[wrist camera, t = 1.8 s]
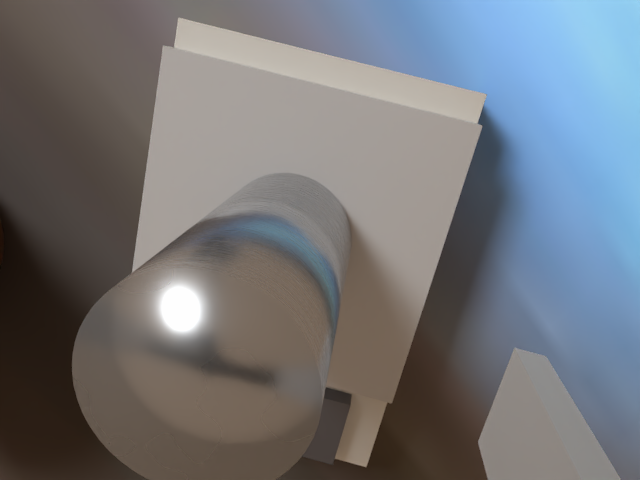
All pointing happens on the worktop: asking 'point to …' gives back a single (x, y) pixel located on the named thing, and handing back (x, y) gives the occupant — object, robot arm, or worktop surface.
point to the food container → (1, 243)
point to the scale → (329, 170)
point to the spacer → (221, 339)
